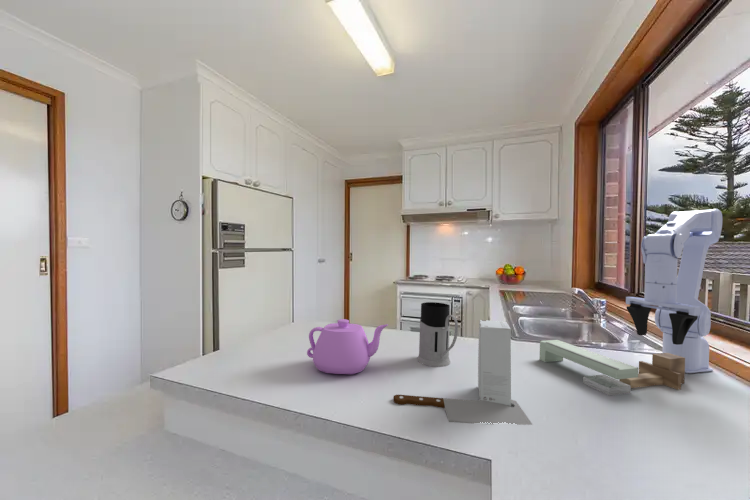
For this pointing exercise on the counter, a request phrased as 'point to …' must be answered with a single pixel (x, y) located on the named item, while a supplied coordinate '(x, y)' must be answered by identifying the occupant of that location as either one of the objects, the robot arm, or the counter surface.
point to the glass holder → (435, 334)
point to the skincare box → (494, 362)
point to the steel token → (606, 385)
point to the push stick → (660, 372)
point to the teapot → (343, 347)
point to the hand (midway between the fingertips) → (658, 339)
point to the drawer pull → (585, 359)
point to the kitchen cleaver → (470, 409)
